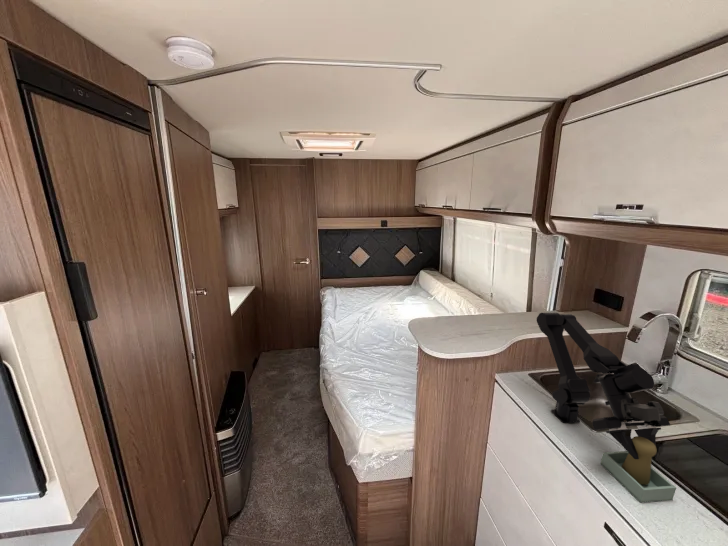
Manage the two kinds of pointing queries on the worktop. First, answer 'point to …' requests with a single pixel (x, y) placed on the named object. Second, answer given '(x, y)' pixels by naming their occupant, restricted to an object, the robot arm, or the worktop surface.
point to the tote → (643, 493)
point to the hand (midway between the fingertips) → (645, 458)
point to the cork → (640, 460)
